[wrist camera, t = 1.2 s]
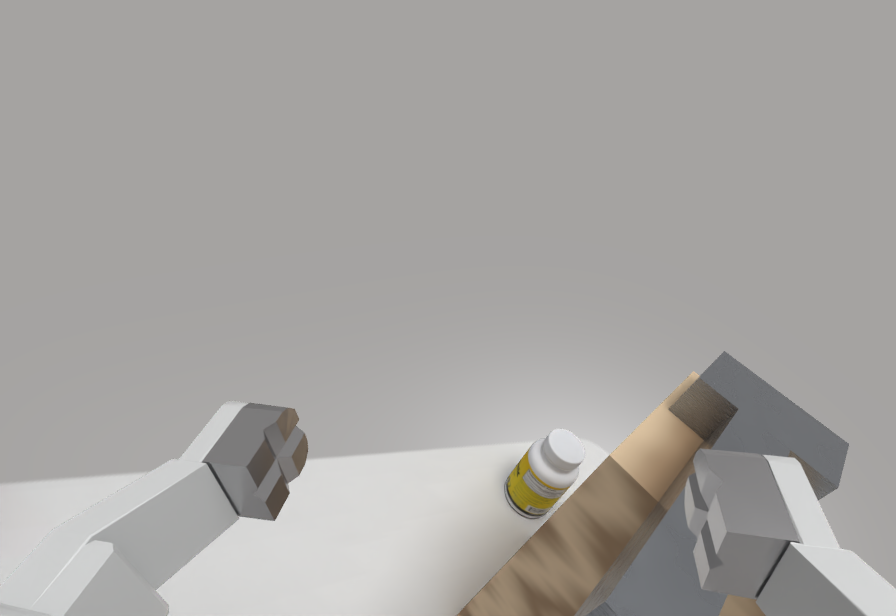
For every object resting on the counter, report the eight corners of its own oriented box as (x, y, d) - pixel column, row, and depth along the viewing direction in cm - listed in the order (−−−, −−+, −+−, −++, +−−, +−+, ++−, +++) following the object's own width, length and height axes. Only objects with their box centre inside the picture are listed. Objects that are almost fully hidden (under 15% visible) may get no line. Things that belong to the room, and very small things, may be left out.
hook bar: (694, 795, 15) (764, 781, 13) (512, 571, 18) (548, 536, 16) (808, 472, 29) (848, 444, 27) (695, 381, 33) (724, 351, 31)
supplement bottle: (521, 465, 55) (560, 414, 50) (556, 501, 53) (602, 452, 47) (493, 489, 52) (532, 437, 46) (530, 530, 49) (576, 481, 44)
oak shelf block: (446, 626, 40) (609, 455, 25) (533, 537, 49) (693, 371, 33) (522, 735, 36) (773, 612, 21) (602, 617, 45) (819, 470, 30)
